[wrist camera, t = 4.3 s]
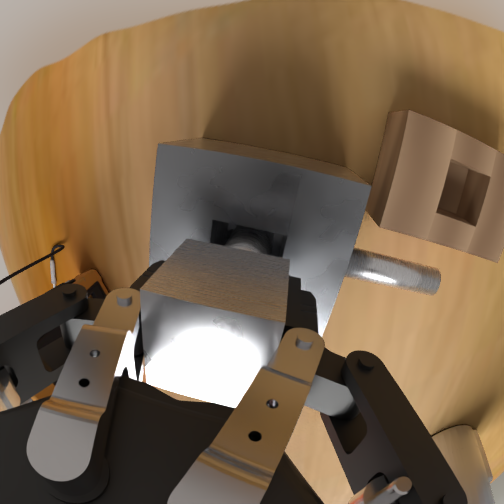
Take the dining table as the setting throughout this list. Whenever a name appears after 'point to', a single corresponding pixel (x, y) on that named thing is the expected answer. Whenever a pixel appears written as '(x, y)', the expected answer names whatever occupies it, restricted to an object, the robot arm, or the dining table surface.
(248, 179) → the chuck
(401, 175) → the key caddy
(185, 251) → the grey square peg
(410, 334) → the dining table surface
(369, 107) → the dining table surface
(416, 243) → the dining table surface
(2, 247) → the dining table surface
